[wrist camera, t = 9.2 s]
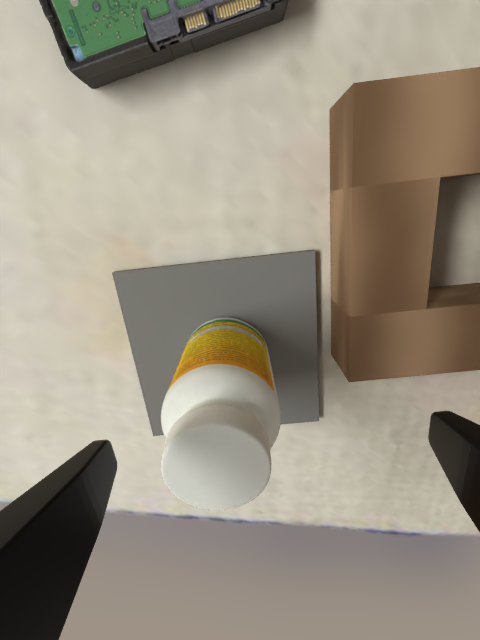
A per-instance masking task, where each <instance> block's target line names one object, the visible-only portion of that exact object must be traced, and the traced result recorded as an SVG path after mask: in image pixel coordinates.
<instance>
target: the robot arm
mask: <svg viewBox="0 0 480 640" xmlns="http://www.w3.org/2000/svg"><path fill="white" fill-rule="evenodd" d="M429 442H430V445H431V447H432V449H433V451H434V453H435V455H436V457H437V459H438V461H439V463H440V464H441V466H442V468H443V470H444V472H445V474H446V476H447V478H448V480H449V482H450V484H451V486H452V487H453V489H454V491H455V493H456V495H457V497H458V499H459V500H460V502H461V504H462V505H463V507H464V508H465V510H466V512H467V513H468V515H469V516H470V518H471V519H472V521H473V523H474V524H475V526H476V527H477V529H478V530H479V532H480V425H478V424H476V423H474V422H472V421H470V420H468V419H465V418H463V417H461V416H459V415H457V414H455V413H453V412H450V411H440V412H434V413H432V415H431V420H430V428H429ZM116 471H117V460H116V457H115V454H114V451H113V448H112V445H111V443H110V441H109V440H97V441H93V442H92V443H90V444H89V445H88V446H86V447H85V448H84V449H82V450H81V451H80V452H78V453H77V454H76V455H74V456H73V457H72V458H70V459H69V460H68V461H66V462H65V463H64V464H62V465H61V466H60V467H58V468H57V469H56V470H54V471H53V472H52V473H50V474H49V475H48V476H46V477H45V478H44V479H42V480H41V481H40V482H38V483H37V484H36V485H34V486H33V487H32V488H30V489H29V490H28V491H26V492H25V493H24V494H22V495H21V496H20V497H18V498H17V499H16V500H14V501H13V502H12V503H10V504H9V505H8V506H6V507H5V508H4V509H2V510H1V511H0V640H59V637H60V634H61V632H62V629H63V626H64V624H65V621H66V619H67V616H68V613H69V611H70V608H71V605H72V603H73V600H74V597H75V595H76V592H77V590H78V587H79V584H80V582H81V579H82V576H83V573H84V571H85V568H86V566H87V563H88V560H89V557H90V555H91V552H92V549H93V547H94V544H95V542H96V539H97V537H98V534H99V531H100V528H101V525H102V522H103V518H104V515H105V511H106V508H107V504H108V500H109V497H110V493H111V489H112V486H113V482H114V478H115V475H116Z"/></svg>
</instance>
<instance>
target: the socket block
mask: <svg viewBox="0 0 480 640" xmlns="http://www.w3.org/2000/svg"><path fill="white" fill-rule="evenodd" d="M477 174H480V67H477V68H470V69H462V70H454V71H446V72H438V73H430V74H422V75H414V76H407V77H399V78H391V79H383V80H375V81H367V82H359V83H353V85H352V86H351V87H350V88H349V89H348V90H347V91H346V92H345V93H344V94H343V95H342V97H341V98H340V99H339V100H338V101H337V102H336V103H335V104H334V105H333V106H332V108H331V109H330V235H331V355H332V356H333V358H334V359H335V361H336V362H337V364H338V366H339V367H340V369H341V370H342V372H343V373H344V375H345V377H346V378H347V380H348V381H349V382H355V381H366V380H376V379H387V378H397V377H408V376H419V375H429V374H440V373H450V372H461V371H472V370H480V283H473V284H464V285H454V286H444V287H435V288H429V280H430V271H431V261H432V252H433V242H434V233H435V224H436V214H437V205H438V195H439V186H440V179H442V178H451V177H459V176H468V175H477Z"/></svg>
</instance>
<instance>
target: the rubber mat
mask: <svg viewBox="0 0 480 640" xmlns="http://www.w3.org/2000/svg"><path fill="white" fill-rule="evenodd" d="M112 274H113V278H114V282H115V286H116V290H117V294H118V298H119V302H120V306H121V310H122V314H123V318H124V322H125V326H126V330H127V334H128V337H129V341H130V345H131V349H132V353H133V357H134V361H135V365H136V369H137V373H138V377H139V381H140V385H141V389H142V393H143V397H144V401H145V405H146V409H147V413H148V417H149V421H150V425H151V429H152V432H153V436H158V435H164V433H163V430H162V425H161V410H162V405H163V402H164V399H165V395H166V393H167V390H168V388H169V386H170V384H171V381H172V379H173V376H174V374H175V372H176V369H177V366H178V364H179V361H180V359H181V356H182V354H183V351H184V349H185V346H186V344H187V342H188V340H189V338H190V337H191V335H192V334H193V332H194V331H195V330H196V329H197V328H198V327H199V326H201V325H202V324H203V323H205V322H207V321H210V320H213V319H216V318H226V317H227V318H235V319H239V320H241V321H244V322H246V323H248V324H249V325H251V326H252V327H254V328H255V329H256V330H257V331H258V332H259V333H260V334H261V335H262V337H263V339H264V340H265V342H266V345H267V348H268V352H269V356H270V362H271V367H272V372H273V378H274V383H275V387H276V392H277V397H278V402H279V407H280V415H281V422H280V424H291V423H302V422H313V421H319V392H318V350H317V307H316V264H315V250H307V251H298V252H289V253H280V254H271V255H262V256H252V257H243V258H234V259H225V260H216V261H207V262H197V263H188V264H179V265H170V266H161V267H152V268H143V269H133V270H124V271H115V272H113V273H112Z"/></svg>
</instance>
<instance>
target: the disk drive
mask: <svg viewBox="0 0 480 640" xmlns="http://www.w3.org/2000/svg"><path fill="white" fill-rule="evenodd" d="M39 1H40V4H41V6H42V9H43V12H44V14H45V16H46V18H47V20H48V21H49V23H50V25H51V27H52V30H53V33H54V35H55V38H56V41H57V44H58V46H59V49H60V51H61V54H62V56H63V57H64V61H65V63H66V66H67V67H68V69H69V70H70V71H71V72H72V73H73V74H74V75H75V76H77V77H78V78H79V79H80V80H81V81H83V82H84V83H85V84H87V85H88V86H89V87H90V88H93V89H94V88H98V87H100V86H103V85H105V84H108V83H111V82H113V81H115V80H118V79H120V78H124V77H128V76H130V75H133V74H136V73H139V72H142V71H144V70H147V69H150V68H153V67H156V66H159V65H161V64H164V63H167V62H169V61H173V60H174V59H176V58H178V57H181V56H184V55H187V54H189V53H192V52H198V51H200V50H203V49H206V48H209V47H211V46H214V45H217V44H220V43H222V42H225V41H228V40H230V39H233V38H236V37H239V36H242V35H244V34H247V33H249V32H252V31H255V30H258V29H261V28H264V27H267V26H269V25H272V24H275V23H278V22H280V21H282V20H283V18H284V14H285V11H286V7H287V4H288V0H39Z"/></svg>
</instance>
